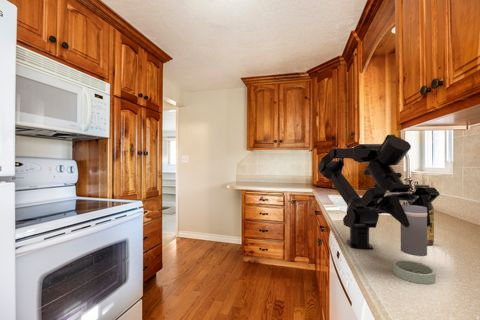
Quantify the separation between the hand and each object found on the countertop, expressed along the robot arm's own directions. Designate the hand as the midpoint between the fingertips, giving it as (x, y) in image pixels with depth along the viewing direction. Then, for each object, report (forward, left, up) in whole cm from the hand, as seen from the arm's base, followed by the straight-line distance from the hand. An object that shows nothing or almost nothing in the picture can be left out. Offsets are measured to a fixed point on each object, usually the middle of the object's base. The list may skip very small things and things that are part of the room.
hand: (418, 226), depth 57 cm
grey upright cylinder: (-1, 0, -7) cm, 7 cm away
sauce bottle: (-29, +15, -12) cm, 35 cm away
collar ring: (-1, 0, -12) cm, 12 cm away
